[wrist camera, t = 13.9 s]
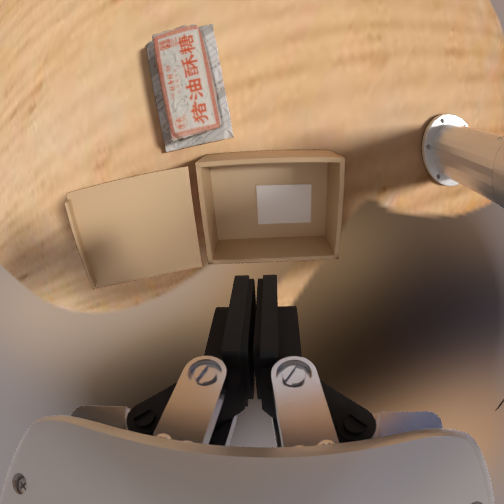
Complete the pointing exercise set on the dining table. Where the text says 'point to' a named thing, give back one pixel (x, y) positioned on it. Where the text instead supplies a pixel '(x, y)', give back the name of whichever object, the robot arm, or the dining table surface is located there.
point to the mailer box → (271, 205)
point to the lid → (135, 227)
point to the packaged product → (189, 87)
